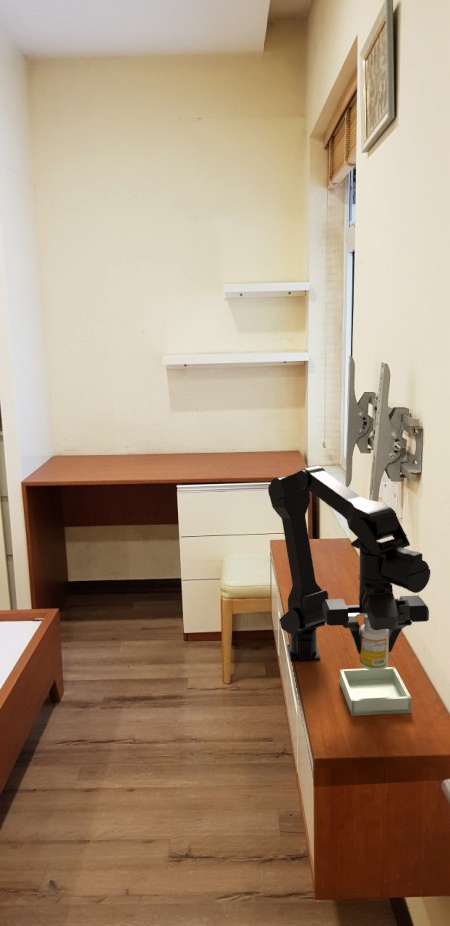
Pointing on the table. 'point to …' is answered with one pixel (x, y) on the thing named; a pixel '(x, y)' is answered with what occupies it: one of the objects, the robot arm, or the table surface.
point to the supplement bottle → (373, 647)
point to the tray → (374, 691)
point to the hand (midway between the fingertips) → (374, 651)
